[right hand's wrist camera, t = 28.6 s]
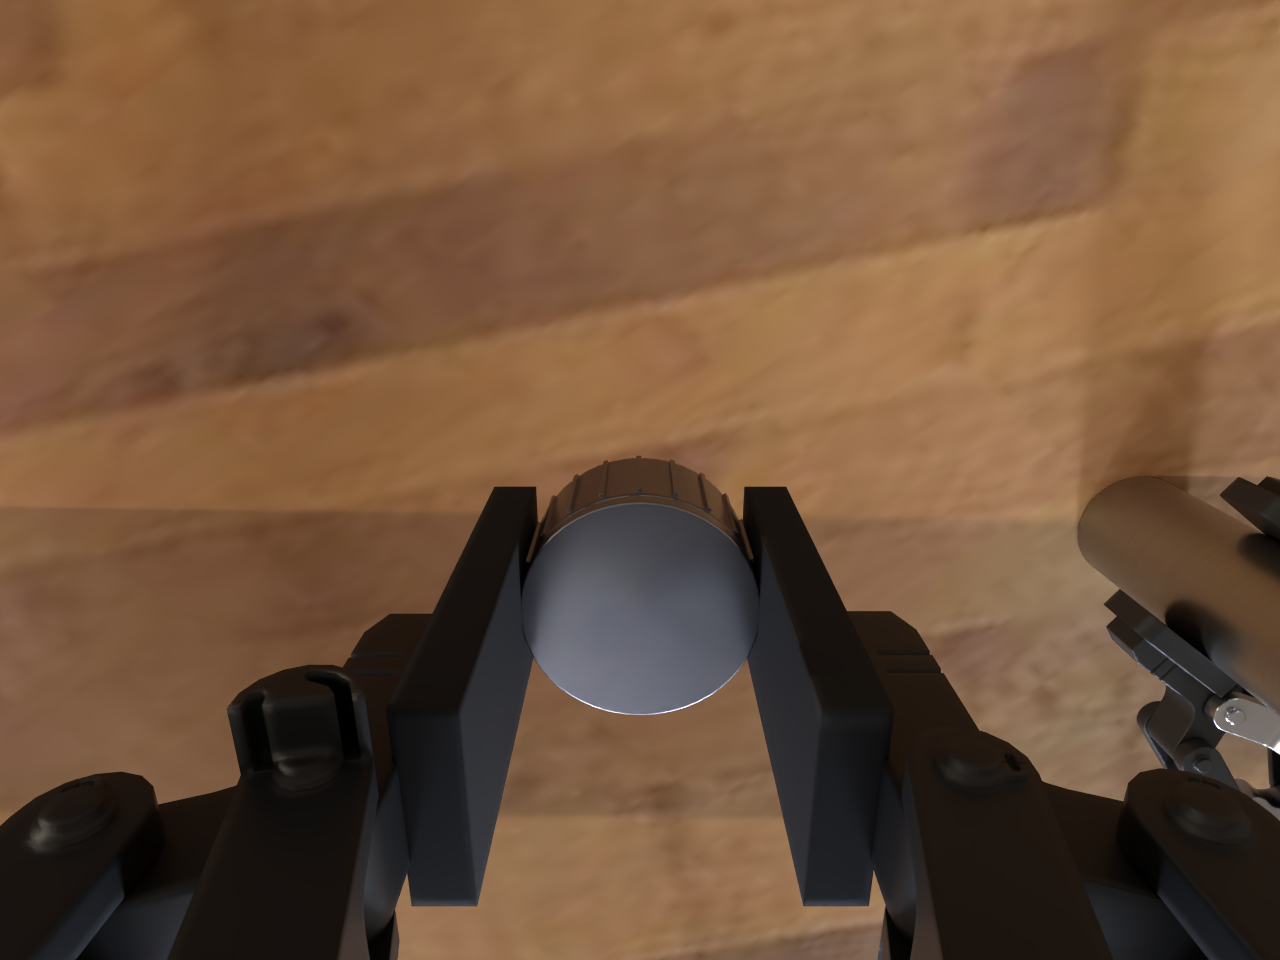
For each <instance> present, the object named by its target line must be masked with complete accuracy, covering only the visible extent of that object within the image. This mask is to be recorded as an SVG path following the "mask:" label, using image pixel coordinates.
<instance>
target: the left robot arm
mask: <svg viewBox="0 0 1280 960" xmlns="http://www.w3.org/2000/svg"><path fill="white" fill-rule="evenodd" d="M1220 496H1221V497H1222V498H1223V499H1224V500H1225V501H1227V502H1228V503H1229V504H1230V505H1231V506H1232V507H1234V508H1235V509H1236V510H1237V511H1238V512H1240V513H1241V514H1242V515H1243V516H1244V517H1245V518H1247V519H1248V520H1249V521H1250V522H1251V523H1252V524H1254V525H1255V526H1256V527H1257V528H1258V529H1259V530H1261V531H1262V532H1263V533H1264V534H1265V535H1267V536H1268V537H1270V538H1272V539H1274V540H1276V541H1278V542H1280V480H1279V479H1275V478H1271V477H1268V476H1267V477H1266V478H1265V479H1264V480H1263V481H1262V482H1260V483H1259V484H1258V485H1255V484H1253V483H1251V482H1249V481H1247V480H1244V479H1242V478H1239V477H1238V478H1237V479H1236V480H1235V481H1234V482H1233V483H1232V484H1230V485H1229V486H1228V487H1227V488H1226V489H1225V490H1224V491H1223V492H1222V493H1221V494H1220ZM1104 605H1105V606H1106V607H1107V608H1108V609H1110V610H1111V611H1112V612H1113V613H1114V614H1115V615H1117V617H1116V618H1115V619H1114V620H1113V621H1112V622H1111V623H1109V624H1108V625H1107V626H1106V627H1107V629H1108V632H1109V634H1110V636H1111V638H1112V640H1114V641H1115V642H1116V643H1117V644H1118V645H1119V646H1120V647H1121V648H1122V649H1123V650H1124V651H1125V652H1127V653H1128V654H1129V655H1130V656H1131V657H1132V658H1133V659H1134V660H1135V661H1136V662H1137V663H1138V664H1140V665H1141V666H1142V667H1144V668H1145V669H1146V670H1148V671H1149V672H1151V673H1152V674H1153V675H1154V676H1156V677H1157V678H1158V679H1160V680H1161V681H1162V682H1164V683H1165V684H1166V692H1165V695H1164V697H1163V699H1162V700H1161V701H1155V702H1151V703H1149V704H1147V705H1145V706H1144V707H1143V708H1142V709H1141V710H1140V711H1139V713H1138V715H1137V723H1138V725H1139V727H1140V729H1141V730H1142V732H1143V734H1144V735H1145V737H1146V739H1147V741H1148V742H1149V744H1150V746H1151V747H1152V749H1153V751H1154V752H1155V754H1156V756H1157V758H1158V759H1159V761H1160V763H1161V764H1162V766H1163V768H1164V769H1172V770H1182V771H1189V772H1192V773H1196V774H1200V775H1202V776H1207V777H1210V778H1212V779H1216V780H1218V781H1220V782H1222V783H1224V784H1226V785H1228V786H1230V787H1232V788H1234V789H1236V790H1238V791H1240V792H1242V793H1244V794H1246V795H1248V796H1249V797H1250V798H1252V799H1253V800H1254V801H1256V802H1257V803H1259V804H1260V805H1261V806H1263V807H1264V808H1265V809H1267V810H1268V811H1269V812H1271V813H1272V814H1273V815H1274V816H1275V817H1276V818H1277V819H1278V820H1279V821H1280V717H1279V716H1278V715H1276V714H1275V713H1274V712H1273V711H1271V710H1270V709H1269V708H1268V707H1266V706H1265V705H1264V704H1263V703H1261V702H1260V701H1259V700H1258V699H1257V698H1255V697H1254V696H1253V695H1252V694H1250V693H1249V692H1248V691H1247V690H1245V689H1244V688H1243V687H1242V686H1240V685H1239V684H1238V683H1237V682H1235V681H1234V680H1233V679H1232V678H1230V677H1229V676H1228V675H1227V674H1226V673H1224V672H1223V671H1222V670H1221V669H1219V668H1218V667H1217V666H1216V665H1215V664H1214V663H1213V662H1212V661H1210V660H1209V659H1208V658H1207V657H1205V656H1204V655H1203V654H1202V653H1200V652H1199V651H1198V650H1197V649H1195V648H1194V647H1193V646H1192V645H1190V644H1189V643H1188V642H1187V641H1186V640H1184V639H1183V638H1182V637H1181V636H1179V635H1178V634H1177V633H1176V632H1174V631H1173V630H1172V629H1171V628H1169V627H1168V626H1167V625H1166V624H1164V623H1163V622H1162V621H1160V620H1159V619H1158V618H1157V617H1155V616H1154V615H1153V614H1152V613H1150V612H1149V611H1148V610H1146V609H1145V608H1144V607H1143V606H1141V605H1140V604H1139V603H1137V602H1136V601H1135V600H1134V599H1132V598H1131V597H1130V596H1128V595H1127V594H1126V593H1125V592H1123V591H1122V590H1121V589H1119V590H1118V591H1117V592H1116V593H1115V594H1114V595H1113V596H1112V597H1111V598H1110V599H1109V600H1108V601H1107V602H1106V603H1104ZM1225 732H1228V733H1231V734H1234V735H1237V736H1240V737H1243V738H1245V739H1248V740H1251V741H1254V742H1257V743H1260V744H1262V745H1265V746H1267V751H1268V769H1269V783H1270V787H1271V788H1269V789H1264V790H1260V789H1255V788H1253V787H1252V786H1251V785H1250V784H1249V783H1248V782H1246V781H1245V780H1242V779H1234V778H1233V776H1232V775H1231V773H1230V771H1229V769H1228V767H1227V766H1226V764H1225V762H1224V760H1223V758H1222V756H1221V755H1220V753H1219V752H1218V751H1217V750H1216V749H1215V747H1216V746H1217V744H1218V743H1219V741H1220V740H1221V738H1222V737H1223V735H1224V733H1225Z"/></svg>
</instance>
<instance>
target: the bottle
mask: <svg viewBox="0 0 1280 960" xmlns="http://www.w3.org/2000/svg"><path fill="white" fill-rule="evenodd" d="M1078 543H1079V547H1080V550H1081V553H1082V555H1083V556H1084V558H1085V559H1086V561H1087V562H1088V563H1089V564H1090V565H1092V566H1093V567H1094V568H1095V569H1097V570H1098V571H1099V572H1100V573H1101V574H1103V575H1104V576H1105V577H1106V578H1108V579H1109V580H1110V581H1111V582H1113V583H1114V584H1115V585H1116V586H1118V587H1119V588H1120V589H1121V590H1123V591H1124V592H1125V593H1126V594H1128V595H1129V596H1130V597H1131V598H1132V599H1134V600H1135V601H1136V602H1137V603H1139V604H1140V605H1141V606H1143V607H1144V608H1145V609H1146V610H1148V611H1149V612H1150V613H1152V614H1153V615H1154V616H1155V617H1157V618H1158V619H1159V620H1160V621H1162V622H1163V623H1164V624H1166V625H1167V626H1168V627H1169V628H1171V629H1172V630H1173V631H1174V632H1176V633H1177V634H1178V635H1179V636H1181V637H1182V638H1183V639H1184V640H1186V641H1187V642H1188V643H1189V644H1190V645H1192V646H1193V647H1194V648H1195V649H1197V650H1198V651H1199V652H1200V653H1202V654H1203V655H1204V656H1205V657H1207V658H1208V659H1209V660H1210V661H1212V662H1213V663H1214V664H1215V665H1216V666H1217V667H1218V668H1219V669H1221V670H1222V671H1223V672H1224V673H1226V674H1227V675H1228V676H1229V677H1230V678H1232V679H1233V680H1234V681H1235V682H1237V683H1238V684H1239V685H1240V686H1242V687H1243V688H1244V689H1245V690H1247V691H1248V692H1249V693H1250V694H1252V695H1253V696H1254V697H1255V698H1257V699H1258V700H1259V701H1260V702H1261V703H1263V704H1264V705H1265V706H1266V707H1268V708H1269V709H1270V710H1271V711H1273V712H1274V713H1275V714H1276V715H1278V716H1279V717H1280V542H1278V541H1276V540H1274V539H1272V538H1270V537H1268V536H1267V535H1265V534H1263V533H1261V532H1259V531H1257V530H1255V529H1253V528H1252V527H1250V526H1248V525H1246V524H1244V523H1242V522H1240V521H1239V520H1237V519H1235V518H1233V517H1231V516H1229V515H1227V514H1226V513H1224V512H1222V511H1220V510H1218V509H1216V508H1214V507H1212V506H1211V505H1209V504H1207V503H1205V502H1203V501H1201V500H1199V499H1198V498H1196V497H1194V496H1192V495H1190V494H1188V493H1186V492H1184V491H1183V490H1181V489H1179V488H1177V487H1175V486H1173V485H1171V484H1170V483H1168V482H1166V481H1163V480H1161V479H1158V478H1154V477H1134V478H1128V479H1125V480H1122V481H1119V482H1117V483H1115V484H1113V485H1111V486H1109V487H1107V488H1106V489H1104V490H1103V491H1102V492H1100V493H1099V494H1098V495H1097V496H1096V497H1095V498H1094V499H1093V500H1092V501H1091V503H1090V504H1089V505H1088V506H1087V508H1086V510H1085V511H1084V513H1083V515H1082V517H1081V520H1080V523H1079V528H1078Z"/></svg>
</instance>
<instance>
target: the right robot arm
mask: <svg viewBox="0 0 1280 960" xmlns="http://www.w3.org/2000/svg"><path fill="white" fill-rule="evenodd" d="M537 522H538V517H537V497H536V487H494V489H493V491H492V493H491V495H490V497H489V499H488V501H487V503H486V505H485V507H484V509H483V511H482V513H481V515H480V517H479V520H478V522H477V524H476V526H475V528H474V530H473V532H472V534H471V536H470V538H469V540H468V542H467V544H466V546H465V548H464V550H463V552H462V554H461V556H460V558H459V560H458V563H457V565H456V567H455V569H454V571H453V573H452V575H451V577H450V579H449V581H448V583H447V585H446V587H445V589H444V591H443V593H442V595H441V597H440V599H439V601H438V603H437V606H436V608H435V610H434V612H433V614H389V615H388V616H386V617H385V618H384V619H382V620H381V621H379V622H378V623H377V624H375V625H374V626H372V627H371V628H370V629H368V630H367V631H366V632H364V634H363V636H362V637H361V639H360V640H359V642H358V644H357V645H356V647H355V649H354V650H353V652H352V653H351V658H348V660H347V661H346V663H345V665H344V666H343V668H342V667H338V666H335V665H306V666H301V667H296V668H291V669H286V670H282V671H280V672H277V673H275V674H272V675H270V676H267V677H265V678H262V679H260V680H258V681H256V682H255V683H253V684H252V685H250V686H249V687H247V688H246V689H244V690H243V691H241V692H240V693H239V694H238V695H237V696H236V698H235V699H234V700H233V701H232V703H231V704H230V705H229V706H228V707H227V712H228V717H229V722H230V726H231V731H232V735H233V740H234V745H235V749H236V754H237V759H238V763H239V768H240V772H241V776H240V779H239V781H238V784H237V785H236V786H234V787H230V788H227V789H223V790H220V791H217V792H213V793H209V794H204V795H200V796H195V797H191V798H186V799H182V800H177V801H172V802H168V803H163V804H159V805H158V803H157V799H156V795H155V791H154V788H153V786H152V785H151V784H150V783H149V782H148V781H147V780H146V779H145V778H144V777H142V776H140V775H135V774H130V773H125V772H113V773H103V774H94V775H91V776H87V777H83V778H81V779H76V780H73V781H70V782H67V783H64V784H62V785H60V786H58V787H56V788H54V789H52V790H50V791H48V792H46V793H44V794H42V795H40V796H38V797H36V798H35V799H33V800H32V801H31V802H29V803H28V804H27V805H25V806H24V807H23V808H21V809H20V810H19V811H17V812H16V813H15V814H13V815H12V816H11V817H10V818H9V819H7V820H6V821H5V822H4V823H3V824H2V825H1V826H0V960H397V959H398V949H399V934H398V927H397V919H396V913H395V907H396V904H397V901H398V898H399V895H400V892H401V889H402V886H403V883H404V880H405V877H406V874H408V881H409V889H410V896H411V904H412V906H477V904H478V900H479V895H480V891H481V886H482V882H483V878H484V873H485V869H486V864H487V860H488V856H489V851H490V847H491V842H492V838H493V834H494V829H495V825H496V820H497V816H498V812H499V807H500V803H501V798H502V794H503V789H504V785H505V781H506V776H507V772H508V767H509V763H510V759H511V754H512V750H513V745H514V741H515V737H516V732H517V728H518V723H519V719H520V715H521V710H522V706H523V701H524V697H525V693H526V688H527V684H528V679H529V675H530V671H531V666H532V662H533V656H532V654H531V653H530V650H529V648H528V646H527V643H526V641H525V638H524V635H523V627H522V610H521V589H522V584H523V581H524V577H525V574H526V571H527V567H528V566H527V565H525V561H526V558H527V554H528V551H529V548H530V545H531V541H532V538H533V535H534V532H535V528H536V525H537ZM743 523H744V527H745V530H746V533H747V536H748V540H749V543H750V546H751V549H752V552H753V556H754V559H755V562H754V563H752V565H753V568H754V572H755V575H756V578H757V582H758V585H759V590H760V602H759V619H758V633H757V637H756V641H755V643H754V645H753V647H752V650H751V652H750V654H749V656H748V657H747V660H748V664H749V668H750V673H751V677H752V682H753V686H754V690H755V695H756V699H757V704H758V708H759V712H760V717H761V721H762V726H763V730H764V734H765V739H766V743H767V748H768V752H769V756H770V761H771V765H772V770H773V774H774V778H775V783H776V787H777V792H778V796H779V800H780V805H781V809H782V814H783V818H784V823H785V827H786V831H787V836H788V840H789V845H790V849H791V853H792V858H793V862H794V867H795V871H796V875H797V880H798V884H799V889H800V893H801V897H802V902H803V906H869V900H870V892H871V885H872V877H873V870H874V872H875V875H876V878H877V881H878V884H879V887H880V889H881V892H882V895H883V898H884V901H885V904H886V906H885V913H884V919H883V926H882V933H881V940H880V947H879V954H878V960H1280V821H1279V820H1278V819H1277V818H1276V817H1275V816H1274V815H1273V814H1272V813H1271V812H1269V811H1268V810H1267V809H1265V808H1264V807H1263V806H1261V805H1260V804H1259V803H1257V802H1256V801H1254V800H1253V799H1252V798H1250V797H1249V796H1248V795H1246V794H1244V793H1242V792H1240V791H1238V790H1236V789H1234V788H1232V787H1230V786H1228V785H1226V784H1224V783H1222V782H1220V781H1218V780H1216V779H1212V778H1210V777H1207V776H1202V775H1200V774H1196V773H1192V772H1189V771H1182V770H1172V769H1161V768H1160V769H1155V770H1150V771H1145V772H1140V773H1139V774H1138V775H1137V776H1135V777H1134V778H1133V779H1132V780H1131V781H1130V782H1129V783H1128V786H1127V790H1126V794H1125V798H1124V801H1119V800H1114V799H1110V798H1105V797H1101V796H1096V795H1091V794H1087V793H1082V792H1078V791H1073V790H1069V789H1065V788H1062V787H1058V786H1055V785H1051V784H1048V783H1045V782H1043V781H1042V780H1041V778H1040V775H1039V773H1038V772H1037V770H1036V769H1035V767H1034V766H1033V765H1032V763H1031V762H1030V760H1029V759H1028V757H1026V756H1025V755H1024V754H1023V753H1021V752H1020V751H1019V750H1017V749H1016V748H1015V747H1013V746H1012V745H1011V744H1009V743H1008V742H1006V741H1004V740H1001V739H999V738H997V737H995V736H993V735H990V734H988V733H986V732H982V731H979V729H978V728H977V726H976V724H975V723H974V721H973V720H972V718H971V716H970V715H969V713H968V712H967V710H966V708H965V707H964V705H963V704H962V702H961V700H960V699H959V697H958V696H957V694H956V692H955V691H954V689H953V688H952V686H951V684H950V683H949V681H948V680H947V678H946V676H945V675H944V673H941V668H940V667H939V665H938V664H937V662H936V660H935V659H934V657H933V656H932V655H930V651H929V649H928V648H927V646H926V644H925V643H924V641H923V640H922V638H921V636H920V635H919V633H918V632H917V630H916V629H915V628H913V627H912V626H910V625H909V624H908V623H906V622H905V621H904V620H902V619H901V618H899V617H898V616H897V615H895V614H894V613H892V612H891V611H846V608H845V606H844V604H843V602H842V600H841V598H840V596H839V594H838V592H837V590H836V588H835V586H834V584H833V582H832V580H831V578H830V576H829V574H828V572H827V570H826V568H825V566H824V563H823V561H822V559H821V557H820V555H819V553H818V551H817V549H816V547H815V545H814V543H813V541H812V539H811V537H810V535H809V533H808V531H807V529H806V527H805V525H804V523H803V520H802V518H801V516H800V514H799V512H798V510H797V508H796V506H795V504H794V502H793V500H792V498H791V496H790V494H789V492H788V490H787V488H786V487H744V507H743Z"/></svg>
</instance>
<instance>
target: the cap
mask: <svg viewBox="0 0 1280 960" xmlns="http://www.w3.org/2000/svg"><path fill="white" fill-rule="evenodd" d="M754 562H755V559H754V556H753V552H752V549H751V546H750V543H749V540H748V536H747V533H746V530H745V527H744V523H743V521H742V519H741V520H738V518H737V516H736V513H735V511H734V509H733V508H732V506H731V505H730V501H729V498H728V495H727V494H726V493H725V494H722V493H721V492H720V491H719V490H718V489H717V488H716V487H715V486H714V485H713V484H711V483H710V482H709V481H708V480H707V479H705V475H704V474H702V473H700V474H697V473H696V472H694V471H692V470H690V469H688V468H686V467H683V466H681V465H678V464H675V461H673V460H670V461H669V462H668V461H663V460H658V459H647V458H641V456H636V458H632V459H623V460H618V461H612V462H609V463H608V461H604V462H603V465H600V466H597V467H595V468H593V469H591V470H589V471H587V472H585V473H583V474H582V475H580V476H579V475H578V474H577V475H575V476H574V478H573V481H572V482H570V483H569V484H568V485H567V486H566V487H564V488H563V490H562V491H561V492H560V493H559V494H558V495H557V496H556V497H555V496H554V495H553V496H552V498H551V500H550V503H549V507H548V509H547V511H546V513H545V515H544V517H543V519H542V521H541V523H540V522H537V525H536V528H535V532H534V535H533V538H532V541H531V545H530V548H529V551H528V554H527V558H526V561H525V565H527V566H528V567H527V571H526V574H525V577H524V581H523V584H522V589H521V610H522V627H523V635H524V638H525V641H526V643H527V646H528V648H529V650H530V653H531V654H532V656H533V658H534V659H535V661H536V662H537V664H538V666H539V667H540V668H541V669H542V670H543V672H544V673H545V674H546V675H547V676H548V677H549V678H550V679H551V680H552V681H553V682H554V683H555V684H556V685H557V686H558V687H560V688H561V689H562V690H564V691H565V692H566V693H568V694H569V695H571V696H573V697H575V698H576V699H578V700H580V701H582V702H584V703H586V704H589V705H591V706H594V707H596V708H599V709H603V710H606V711H610V712H616V713H621V714H632V715H649V714H659V713H665V712H671V711H674V710H678V709H681V708H685V707H687V706H690V705H692V704H695V703H697V702H699V701H701V700H703V699H704V698H706V697H708V696H710V695H711V694H713V693H714V692H716V691H717V690H718V689H720V688H721V687H722V686H724V685H725V684H726V683H727V682H728V681H729V680H730V679H731V678H732V677H733V676H734V675H735V674H736V673H737V671H738V670H739V669H740V668H741V667H742V665H743V663H744V662H745V660H746V659H747V657H748V656H749V654H750V652H751V650H752V647H753V645H754V643H755V641H756V637H757V633H758V619H759V602H760V590H759V585H758V582H757V578H756V575H755V572H754V568H753V565H752V563H754Z"/></svg>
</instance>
